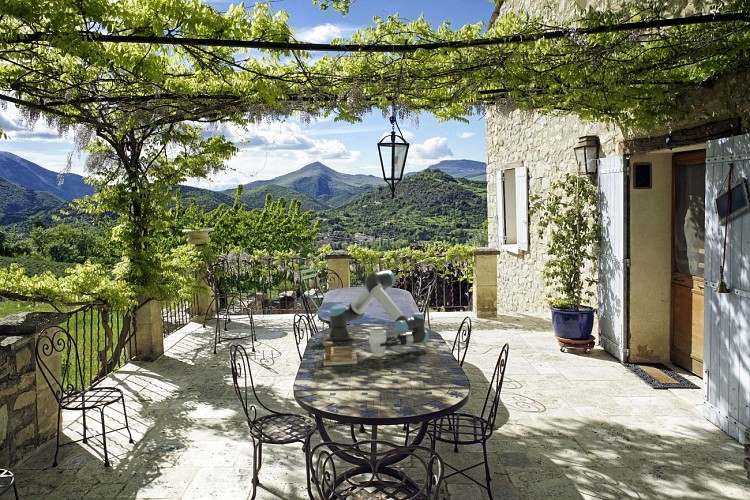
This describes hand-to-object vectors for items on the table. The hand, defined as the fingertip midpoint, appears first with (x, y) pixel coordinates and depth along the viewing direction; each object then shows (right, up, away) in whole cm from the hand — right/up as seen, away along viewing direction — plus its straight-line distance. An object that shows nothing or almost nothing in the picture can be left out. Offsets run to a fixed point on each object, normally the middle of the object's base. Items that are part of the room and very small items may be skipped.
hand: (371, 343), depth 328 cm
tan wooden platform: (-19, -9, -4) cm, 22 cm away
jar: (+4, -8, +2) cm, 9 cm away
